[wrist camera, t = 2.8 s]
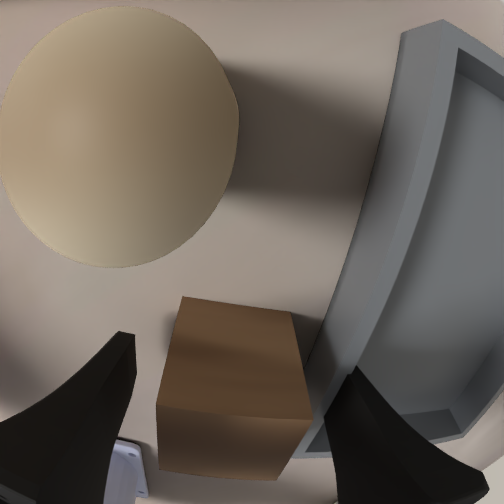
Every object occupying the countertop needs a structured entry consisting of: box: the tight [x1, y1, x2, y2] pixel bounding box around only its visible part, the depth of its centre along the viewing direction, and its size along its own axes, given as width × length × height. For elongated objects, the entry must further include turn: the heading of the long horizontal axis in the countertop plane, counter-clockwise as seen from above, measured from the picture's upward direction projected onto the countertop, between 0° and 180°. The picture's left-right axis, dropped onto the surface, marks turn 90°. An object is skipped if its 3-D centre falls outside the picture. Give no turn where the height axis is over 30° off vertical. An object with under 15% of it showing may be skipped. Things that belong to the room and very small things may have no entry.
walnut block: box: [156, 296, 314, 481], centre depth 10 cm, size 4×4×5 cm
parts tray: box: [291, 19, 504, 458], centre depth 11 cm, size 17×11×2 cm, turn 169°
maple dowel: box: [0, 6, 239, 268], centre depth 6 cm, size 4×4×6 cm
